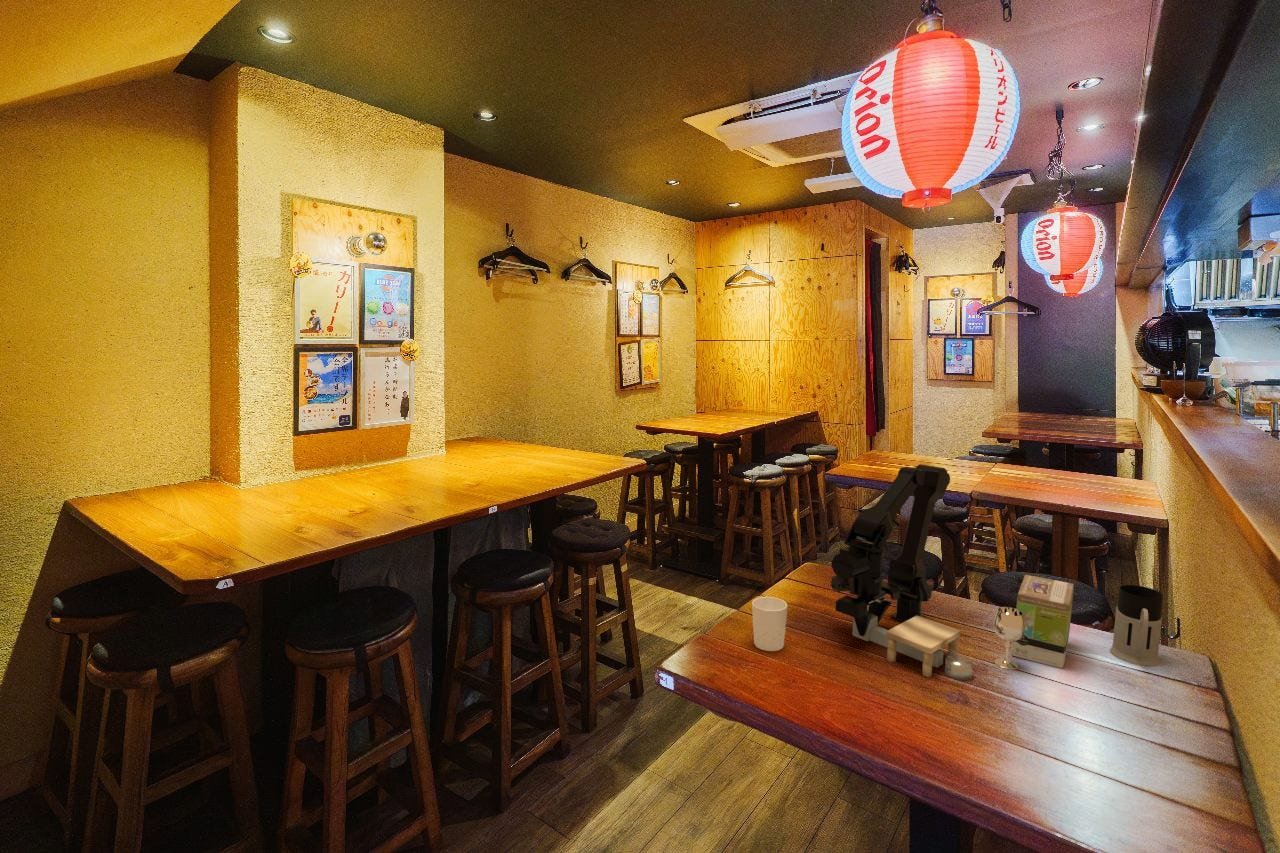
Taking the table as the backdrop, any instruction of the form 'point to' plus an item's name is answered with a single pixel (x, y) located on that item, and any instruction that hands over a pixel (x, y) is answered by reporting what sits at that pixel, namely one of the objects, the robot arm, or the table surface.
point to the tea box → (1044, 620)
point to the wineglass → (1008, 631)
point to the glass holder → (1137, 625)
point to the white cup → (769, 623)
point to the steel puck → (958, 667)
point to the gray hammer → (879, 637)
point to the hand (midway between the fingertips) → (866, 632)
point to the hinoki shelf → (922, 639)
